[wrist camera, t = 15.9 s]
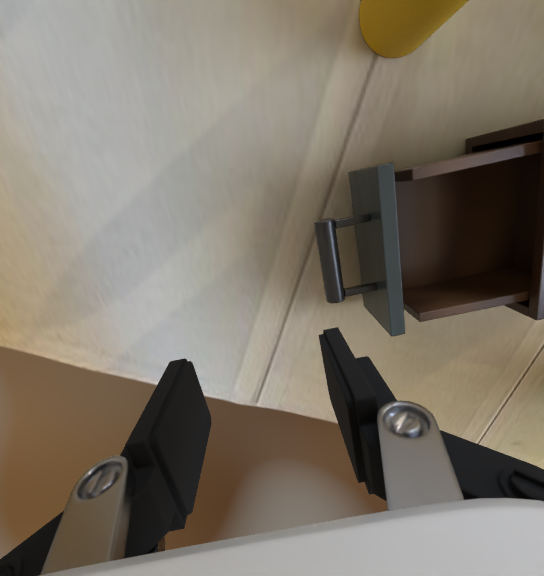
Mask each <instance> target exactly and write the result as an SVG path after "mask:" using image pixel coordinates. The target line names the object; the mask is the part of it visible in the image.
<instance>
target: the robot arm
mask: <svg viewBox="0 0 544 576" xmlns="http://www.w3.org/2000/svg"><path fill="white" fill-rule="evenodd" d="M323 333H324V334H321V335H319V340H320V345H321V351H322V357H323V362H324V368H325V374H326V379H327V385H328V391H329V395H330V399H331V403H332V406H333V409H334V412H335V415H336V418H337V421H338V424H339V426H340V429H341V433H342V435H343V439H344V441H345V445H346V447H347V450H348V454H349V457H350V460H351V463H352V466H353V468H354V472H355V474H356V478H357V480H358V482H359V483H360V482H365V484H366V487H367V490H368V492H369V494H375V495H377V496H379V497H380V498H382V499H384V500H385V501H387V509H388V511H384V512H378V513H372V514H367V515H362V516H355V517H350V518H344V519H338V520H333V521H328V522H321V523H316V524H310V525H305V526H299V527H294V528H287V529H282V530H277V531H271V532H265V533H260V534H254V535H249V536H243V537H238V538H233V539H227V540H221V541H216V542H210V543H205V544H200V545H194V546H189V547H183V548H178V549H172V550H167V551H165V539H164V536H165V535H166V534H167V533H168V532H169V531H174V530H179V529H184V526H185V522H186V518H187V515H189V514H191V513H192V510H193V507H194V502H195V497H196V493H197V488H198V483H199V479H200V474H201V470H202V465H203V460H204V455H205V451H206V446H207V441H208V437H209V432H210V428H211V416H210V412H209V409H208V407H207V404H206V401H205V398H204V395H203V392H202V389H201V386H200V383H199V381H198V378H197V375H196V372H195V369H194V366H193V363H192V362H191V361H189V362H188V361H187V360H186V359H180V360H175V361H171V362H170V363H169V364H168V366H167V368H166V370H165V372H164V374H163V376H162V377H161V379H160V381H159V383H158V385H157V387H156V389H155V391H154V392H153V394H152V396H151V398H150V400H149V402H148V404H147V406H146V407H145V410H144V411H143V413H142V415H141V417H140V418H139V421H138V422H137V424H136V426H135V428H134V430H133V431H132V433H131V435H130V437H129V439H128V441H127V443H126V444H125V447H124V449H123V451H122V453H121V455H120V456H112V457H108V458H106V459H103V460H102V461H100V462H98V463H96V464H95V465H93V466H92V467H91V468H89V469H88V470H87V471H86V472H85V473H84V474H83V475H82V476H81V477H80V478H79V479H78V481H77V482H76V483H75V485H74V487H73V489H72V491H71V494H70V497H69V499H68V502H67V505H66V508H65V510H64V511H63V512H62V513H60V514H59V515H58V516H56V517H55V518H54V519H52V520H51V521H50V522H49V523H47V524H46V525H45V526H43V527H42V528H41V529H39V530H38V531H37V532H35V533H34V534H33V535H31V536H30V537H29V538H28V539H27V540H25V541H24V542H22V543H21V544H20V545H18V546H17V547H16V548H14V549H13V550H12V551H11V552H9V553H8V554H7V555H5V556H4V557H3V558H1V559H0V576H544V470H543V469H541V468H539V467H537V466H535V465H532V464H529V463H527V462H524V461H521V460H519V459H516V458H513V457H511V456H508V455H505V454H503V453H500V452H497V451H495V450H492V449H489V448H487V447H484V446H481V445H478V444H476V443H473V442H470V441H468V440H465V439H462V438H460V437H457V436H454V435H452V434H449V433H446V432H444V431H441V430H439V427H438V424H437V422H436V420H435V418H434V416H433V414H432V413H431V412H430V411H428V410H427V409H426V408H424V407H423V406H421V405H419V404H416V403H413V402H409V401H397V400H396V398H395V397H394V395H393V394H392V392H391V390H390V389H389V387H388V386H387V384H386V383H385V381H384V380H383V378H382V377H381V375H380V374H379V372H378V371H377V369H376V367H375V366H374V364H373V363H372V361H371V360H370V358H369V357H367V356H366V357H361V358H356V359H355V357H354V355H353V354H352V352H351V350H350V348H349V346H348V345H347V343H346V341H345V339H344V338H343V336H342V334H341V332H340V330H339V329H338V327H337V328H332V329H327V330H324V331H323Z"/></svg>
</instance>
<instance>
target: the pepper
mask: <svg viewBox="0 0 544 576" xmlns="http://www.w3.org/2000/svg"><path fill="white" fill-rule="evenodd" d="M468 1H469V0H361V4H360V11H359V21H360V28H361V31H362V34H363V37H364V39H365V41H366V43H367V44H368V45H369V47H370V48H371V49H372V50H373V51H374V52H376V53H377V54H379V55H381V56H384V57H388V58H398V57H402V56H405V55H407V54H410V53H411V52H413V51H414V50H415V49H416V48H418V47H419V46H420V45H421V44H422V43H423V42H424V41H425V40H426V39H427V38H429V37H430V36H431V35H432V34H433V33H434V32H435V31H436V30H437V29H438V28H439V27H440V26H442V25H443V24H444V23H445V22H446V21H447V20H448V19H449V18H450V17H451V16H452V15H453V14H455V13H456V12H457V11H458V10H459V9H460V8H461V7H462V6H463V5H464V4H465V3H466V2H468Z"/></svg>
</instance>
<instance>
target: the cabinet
mask: <svg viewBox="0 0 544 576" xmlns="http://www.w3.org/2000/svg"><path fill="white" fill-rule="evenodd" d="M542 138H543V145H542V157H541V169H540V181H539V193H538V205H537V217H536V230H535V242H534V254H533V266H532V278H531V290H530V300H526V301H521V302H516V303H511V304H506V305H505V306H507V307H509V308H511V309H513V310H515V311H517V312H520V313H522V314H524V315H526V316H529V317H530V318H533V319H535V320H541V319H544V119H542V120H538V121H534V122H530V123H526V124H522V125H519V126H515V127H511V128H507V129H503V130H499V131H495V132H491V133H487V134H484V135H480V136H476V137H472V138H468V139H466V154H471V153H475V152H480V151H485V150H489V149H494V148H498V147H503V146H507V145H512V144H516V143H521V142H526V141H531V140H536V139H542Z"/></svg>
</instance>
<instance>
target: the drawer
mask: <svg viewBox="0 0 544 576" xmlns="http://www.w3.org/2000/svg"><path fill="white" fill-rule="evenodd" d="M542 145H543V138H542V139H536V140H531V141H526V142H521V143H516V144H512V145H507V146H503V147H498V148H494V149H489V150H485V151H480V152H475V153H471V154H466V155H462V156H457V157H453V158H448V159H444V160H439V161H435V162H430V163H426V164H421V165H417V166H412V167H407V168H403V169H398V170H394V163H393V162H391V163H387V164H382V165H378V166H373V167H369V168H365V169H360V170H356V171H351V172H349V181H350V189H351V198H352V207H353V215H354V216H352V217H347V218H343V219H338V220H334V219H333V218H329V219H323V220H319V221H316V222H314V225H315V231H316V237H317V244H318V250H319V256H320V262H321V269H322V275H323V281H324V287H325V294H326V300H327V302H329V303H339V302H342V301H344V300H345V297H347V296H351V295H356V294H361V293H363V302H364V307H365V308H366V309H367V310H368V311H369V312H370V313H371V314H372V315H373V317H374V318H375V319H376V320H377V321H378V322H379V323H380V324H381V325H382V327H383V328H384V329H385V330H386V331H387V332H388V333H389V334H390V335H391V336H397V335H402V334H405V324H404V309H405V310H406V311H407V312H408V313H409V314H411V315H412V316H413V317H414V318H416V319H417V320H418V321H419V322H422V321H427V320H432V319H437V318H442V317H447V316H452V315H457V314H462V313H467V312H472V311H476V310H481V309H486V308H491V307H496V306H501V305H506V304H511V303H516V302H521V301H526V300H530V290H531V278H532V266H533V254H534V242H535V230H536V217H537V205H538V193H539V181H540V169H541V157H542ZM354 224H355V233H356V241H357V250H358V258H359V267H360V276H361V284H362V285H359V286H354V287H349V288H344V287H343V280H342V273H341V265H340V258H339V251H338V243H337V236H336V229H335V228H340V227H345V226H350V225H354Z"/></svg>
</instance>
